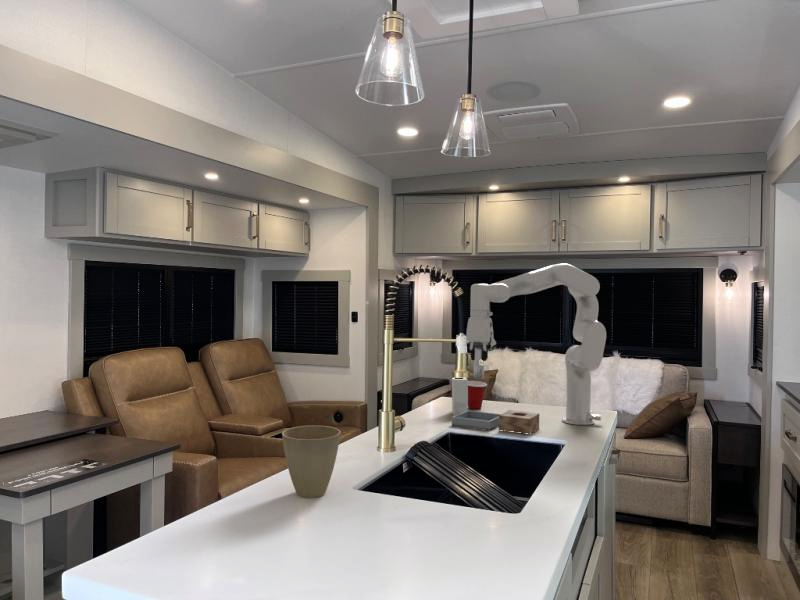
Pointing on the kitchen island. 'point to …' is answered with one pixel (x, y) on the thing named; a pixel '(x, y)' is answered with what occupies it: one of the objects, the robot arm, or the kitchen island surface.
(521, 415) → the pin block
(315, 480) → the plant pot
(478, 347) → the pin
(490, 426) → the tray
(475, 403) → the plastic cup
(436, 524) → the kitchen island surface
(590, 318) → the robot arm
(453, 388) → the skincare box
